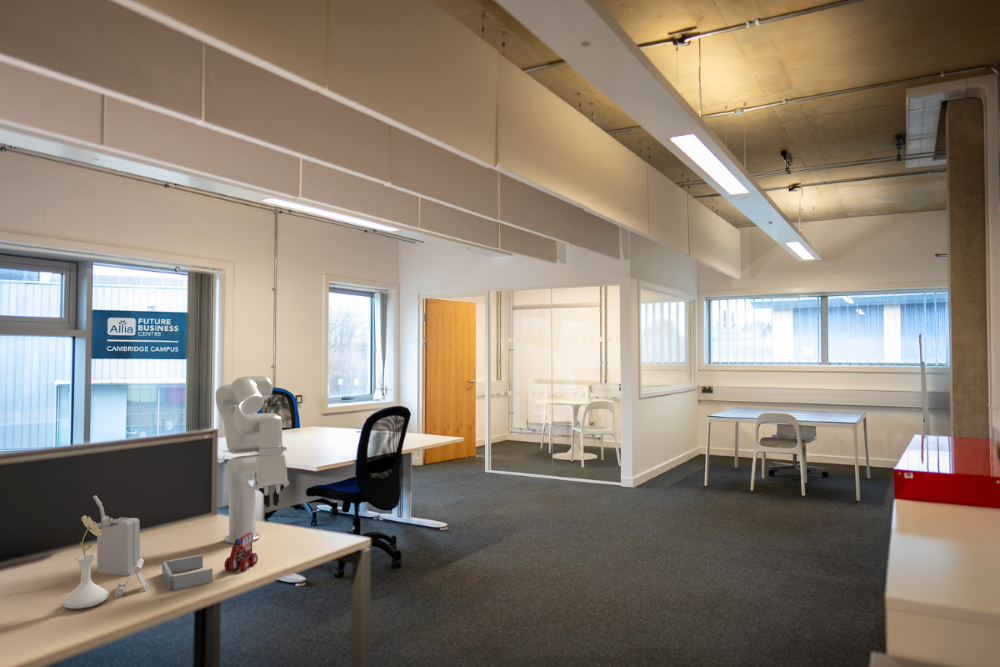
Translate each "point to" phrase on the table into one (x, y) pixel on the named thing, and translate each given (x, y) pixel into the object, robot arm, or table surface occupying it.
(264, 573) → the table surface
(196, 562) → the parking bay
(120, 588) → the portable electronic device stand
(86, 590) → the flower in vase
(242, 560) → the toy fire truck
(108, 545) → the fuel canister
